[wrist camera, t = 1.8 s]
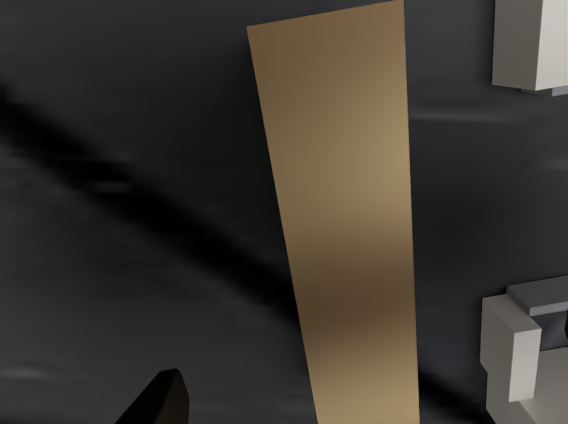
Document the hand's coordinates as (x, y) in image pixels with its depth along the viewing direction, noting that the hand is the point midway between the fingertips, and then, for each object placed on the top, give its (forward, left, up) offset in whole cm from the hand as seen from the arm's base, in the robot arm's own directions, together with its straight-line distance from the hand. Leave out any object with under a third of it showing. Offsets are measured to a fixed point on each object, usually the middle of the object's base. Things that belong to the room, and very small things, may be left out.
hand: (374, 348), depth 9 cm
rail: (0, 0, -6) cm, 6 cm away
